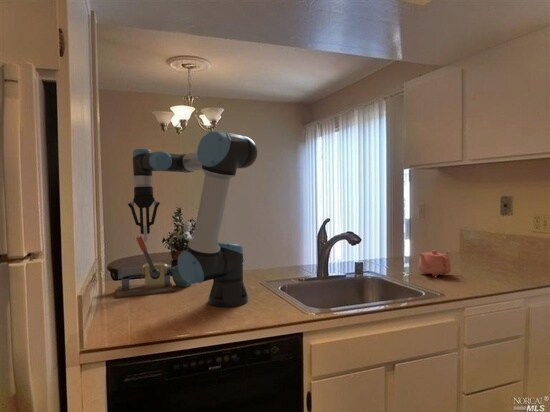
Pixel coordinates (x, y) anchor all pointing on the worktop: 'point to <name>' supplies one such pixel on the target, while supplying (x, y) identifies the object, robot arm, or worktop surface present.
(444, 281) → the worktop surface
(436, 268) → the teapot
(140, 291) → the mount board
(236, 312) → the worktop surface
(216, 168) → the robot arm
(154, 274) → the lever
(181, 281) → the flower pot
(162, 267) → the valve
